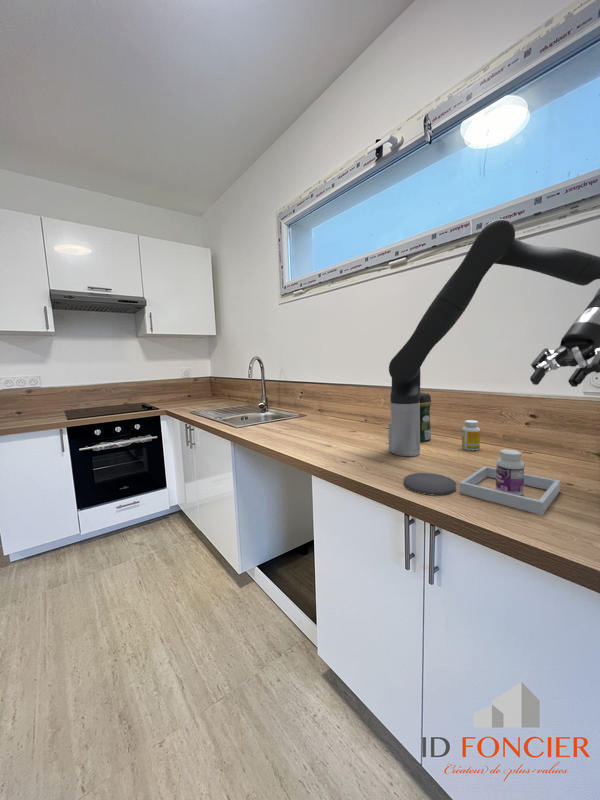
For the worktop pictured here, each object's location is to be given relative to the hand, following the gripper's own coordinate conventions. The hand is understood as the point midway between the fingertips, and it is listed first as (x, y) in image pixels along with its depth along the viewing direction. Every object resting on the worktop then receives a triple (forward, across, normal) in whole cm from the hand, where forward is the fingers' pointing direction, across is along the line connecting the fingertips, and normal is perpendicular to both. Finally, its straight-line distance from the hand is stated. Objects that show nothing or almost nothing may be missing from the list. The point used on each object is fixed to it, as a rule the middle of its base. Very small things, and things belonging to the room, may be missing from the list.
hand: (551, 383), depth 73 cm
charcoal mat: (+35, -10, -1) cm, 37 cm away
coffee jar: (+17, -50, +17) cm, 56 cm away
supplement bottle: (+12, -31, +23) cm, 41 cm away
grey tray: (+26, 0, +9) cm, 27 cm away
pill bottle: (+26, 0, +9) cm, 27 cm away
